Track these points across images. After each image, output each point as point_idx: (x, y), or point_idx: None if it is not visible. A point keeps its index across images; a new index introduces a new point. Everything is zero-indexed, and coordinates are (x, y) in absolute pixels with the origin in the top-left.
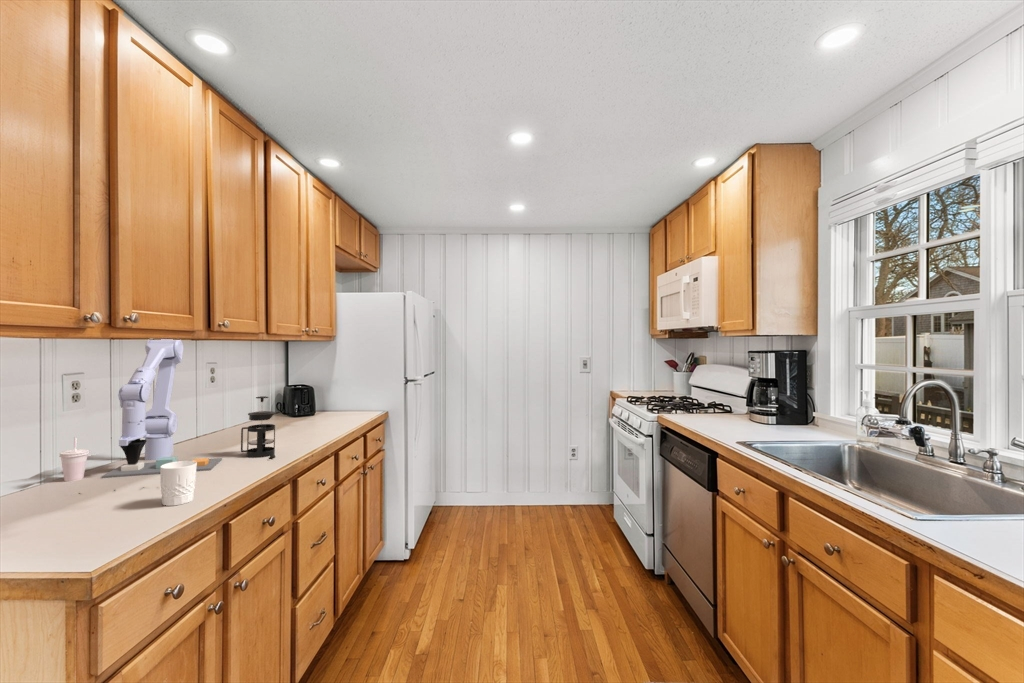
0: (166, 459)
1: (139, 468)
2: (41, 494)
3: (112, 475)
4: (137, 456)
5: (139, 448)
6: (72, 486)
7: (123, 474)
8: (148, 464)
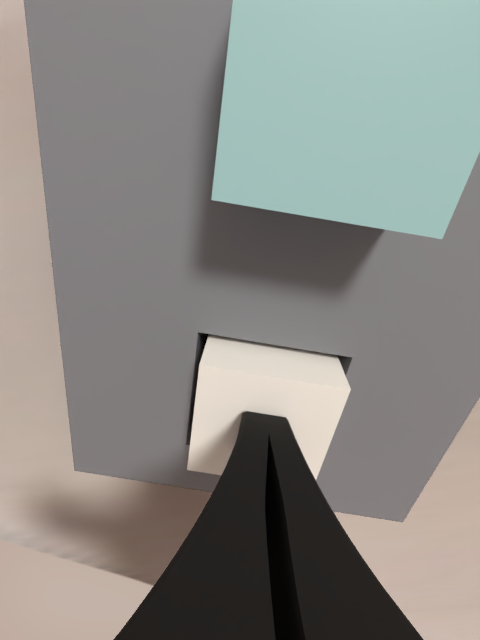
0: (476, 62)
1: (312, 362)
2: (451, 607)
3: (426, 480)
4: (314, 481)
5: (367, 617)
6: (376, 556)
7: (455, 431)
8: (140, 319)
